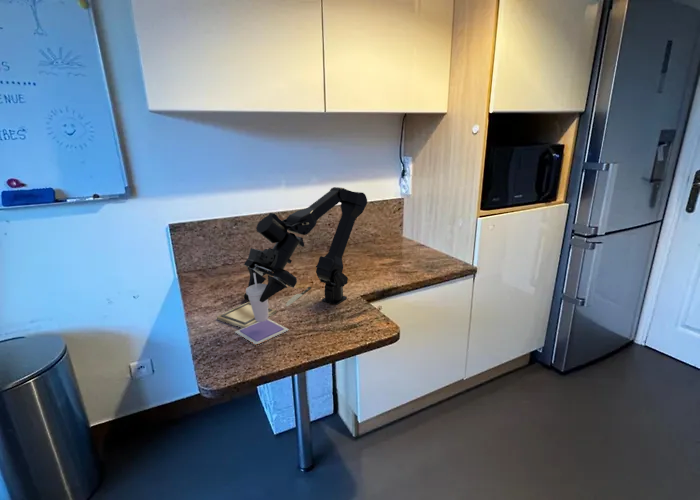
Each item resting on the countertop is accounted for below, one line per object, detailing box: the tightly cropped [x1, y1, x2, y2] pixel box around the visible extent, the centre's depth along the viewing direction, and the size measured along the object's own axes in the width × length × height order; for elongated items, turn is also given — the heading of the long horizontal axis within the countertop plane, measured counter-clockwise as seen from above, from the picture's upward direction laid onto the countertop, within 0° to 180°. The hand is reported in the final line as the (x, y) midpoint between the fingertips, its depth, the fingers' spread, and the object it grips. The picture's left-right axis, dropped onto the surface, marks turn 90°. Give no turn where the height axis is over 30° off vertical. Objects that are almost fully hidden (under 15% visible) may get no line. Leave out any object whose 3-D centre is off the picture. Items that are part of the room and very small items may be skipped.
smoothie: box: [245, 273, 269, 322], centre depth 103 cm, size 6×6×14 cm
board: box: [216, 301, 277, 329], centre depth 116 cm, size 13×13×1 cm
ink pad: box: [234, 318, 290, 344], centre depth 106 cm, size 11×11×1 cm
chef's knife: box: [285, 286, 312, 307], centre depth 130 cm, size 19×1×3 cm
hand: (254, 298), depth 102 cm, fingers closed on smoothie, 6 cm apart
